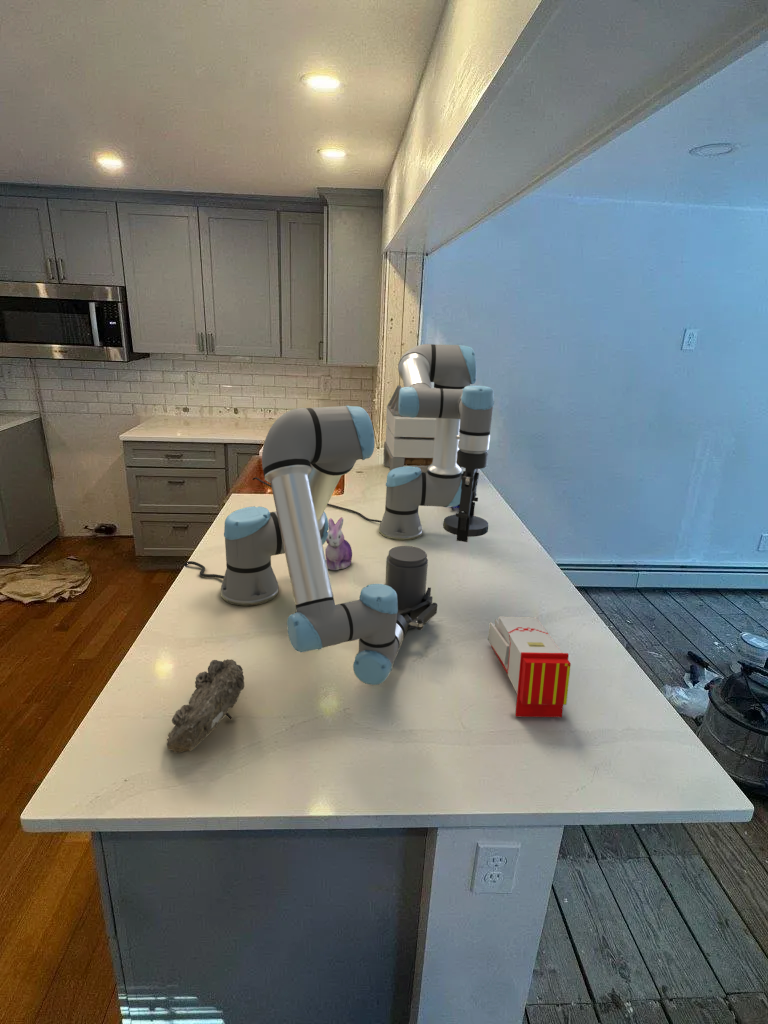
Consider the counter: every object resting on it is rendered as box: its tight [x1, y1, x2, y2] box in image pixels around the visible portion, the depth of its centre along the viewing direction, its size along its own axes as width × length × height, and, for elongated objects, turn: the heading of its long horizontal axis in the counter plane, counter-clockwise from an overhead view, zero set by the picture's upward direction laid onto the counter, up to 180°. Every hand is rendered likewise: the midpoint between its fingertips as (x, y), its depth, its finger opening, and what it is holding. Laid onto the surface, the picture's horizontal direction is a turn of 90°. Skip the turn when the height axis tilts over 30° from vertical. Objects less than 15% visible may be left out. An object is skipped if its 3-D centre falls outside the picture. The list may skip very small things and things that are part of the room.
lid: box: [442, 514, 489, 538], centre depth 146 cm, size 12×12×2 cm
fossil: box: [166, 658, 245, 754], centre depth 106 cm, size 22×10×15 cm
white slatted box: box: [383, 384, 462, 472], centre depth 268 cm, size 34×33×41 cm
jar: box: [384, 545, 429, 630], centre depth 142 cm, size 10×10×18 cm
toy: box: [487, 616, 572, 718], centre depth 123 cm, size 12×13×30 cm
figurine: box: [324, 517, 353, 571], centre depth 171 cm, size 9×10×15 cm
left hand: (408, 588), depth 147 cm, fingers closed on jar, 10 cm apart
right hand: (464, 532), depth 147 cm, fingers closed on lid, 11 cm apart
